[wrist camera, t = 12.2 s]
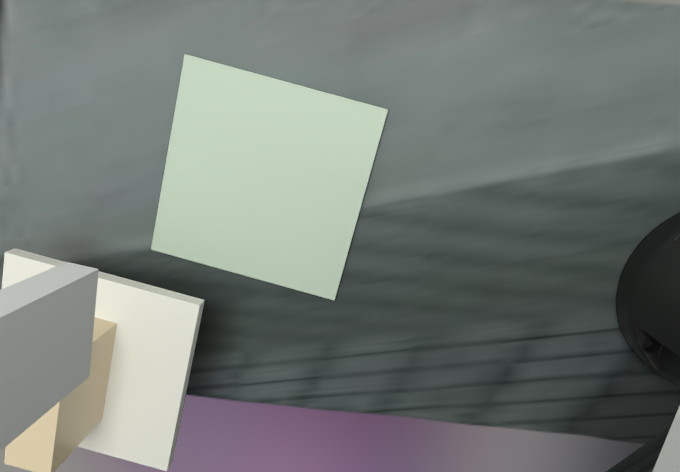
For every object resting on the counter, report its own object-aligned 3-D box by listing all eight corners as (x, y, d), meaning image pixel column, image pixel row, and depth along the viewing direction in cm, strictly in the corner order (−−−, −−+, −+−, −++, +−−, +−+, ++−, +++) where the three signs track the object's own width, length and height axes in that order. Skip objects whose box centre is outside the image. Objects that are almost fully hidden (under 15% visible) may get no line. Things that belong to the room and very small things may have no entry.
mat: (387, 109, 37) (387, 109, 37) (335, 298, 41) (334, 300, 41) (187, 54, 38) (184, 54, 37) (153, 247, 42) (150, 249, 41)
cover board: (204, 299, 35) (162, 344, 28) (172, 462, 38) (127, 537, 31) (15, 248, 35) (-73, 280, 28) (-1, 414, 38) (-82, 479, 31)
